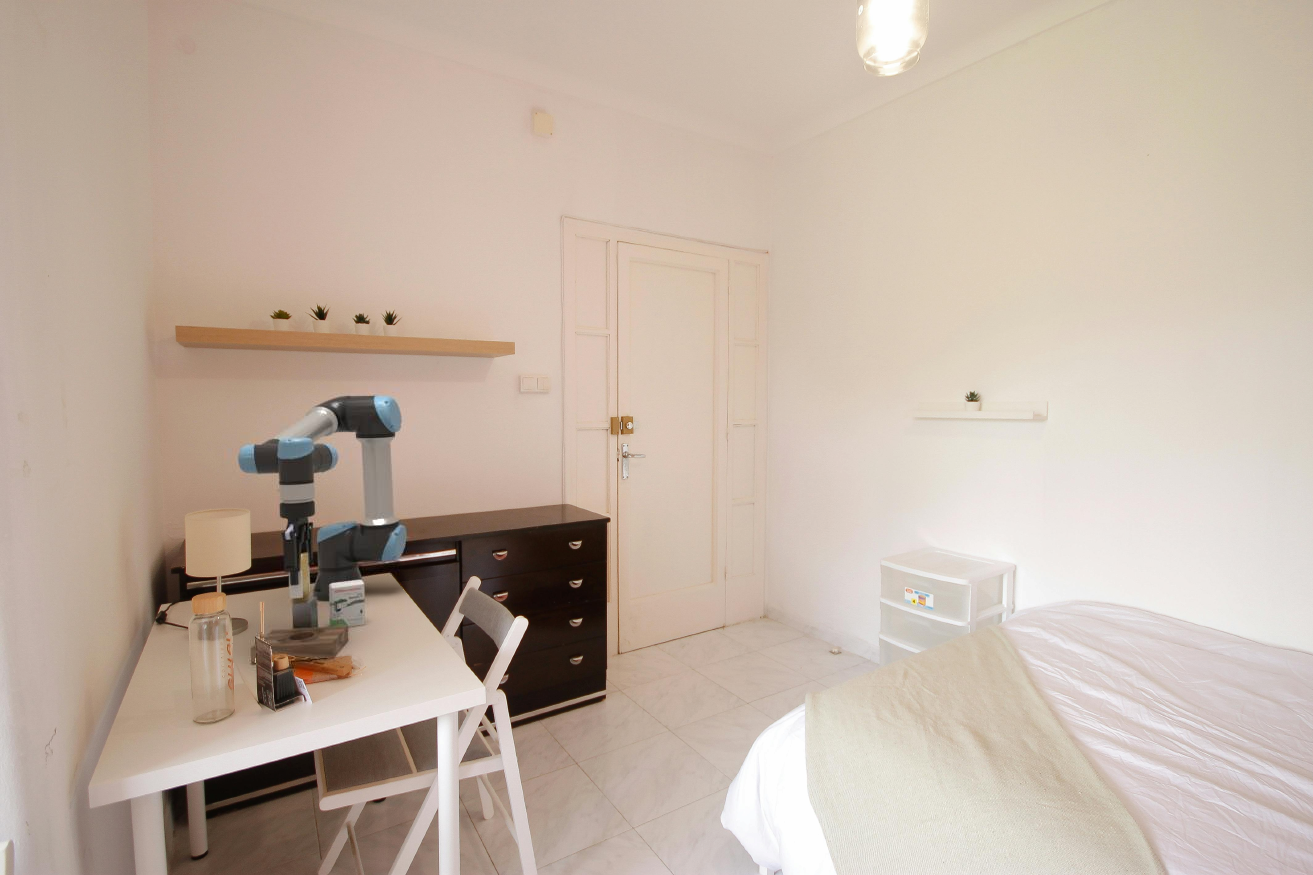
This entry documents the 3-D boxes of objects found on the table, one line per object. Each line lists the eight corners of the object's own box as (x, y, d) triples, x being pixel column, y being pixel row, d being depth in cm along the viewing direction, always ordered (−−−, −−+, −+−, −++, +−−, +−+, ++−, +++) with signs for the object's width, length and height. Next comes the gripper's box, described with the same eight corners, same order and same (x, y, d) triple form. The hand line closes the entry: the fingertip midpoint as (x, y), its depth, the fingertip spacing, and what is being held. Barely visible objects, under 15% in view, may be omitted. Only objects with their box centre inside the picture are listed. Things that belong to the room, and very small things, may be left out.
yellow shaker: (294, 599, 155) (293, 552, 155) (312, 598, 156) (310, 551, 156) (288, 604, 152) (286, 555, 151) (305, 603, 152) (304, 554, 152)
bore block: (273, 645, 159) (272, 630, 159) (348, 640, 162) (348, 625, 162) (251, 664, 147) (250, 647, 147) (332, 658, 150) (332, 642, 150)
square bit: (300, 634, 167) (298, 597, 166) (318, 633, 167) (317, 596, 167) (293, 640, 162) (292, 602, 162) (312, 639, 163) (310, 601, 163)
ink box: (331, 630, 170) (330, 587, 169) (329, 625, 174) (328, 583, 173) (366, 624, 174) (364, 582, 174) (363, 619, 179) (362, 578, 178)
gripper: (294, 496, 161) (297, 586, 161) (265, 506, 144) (268, 606, 145) (325, 495, 162) (328, 584, 163) (300, 505, 145) (303, 604, 146)
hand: (300, 594), depth 154 cm, fingers closed on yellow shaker, 4 cm apart
